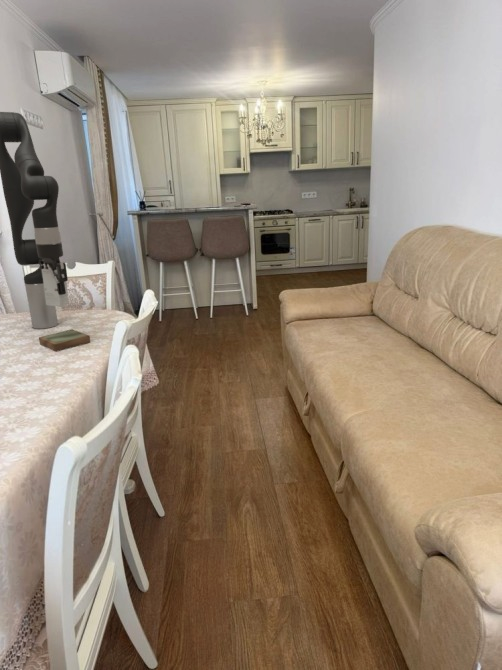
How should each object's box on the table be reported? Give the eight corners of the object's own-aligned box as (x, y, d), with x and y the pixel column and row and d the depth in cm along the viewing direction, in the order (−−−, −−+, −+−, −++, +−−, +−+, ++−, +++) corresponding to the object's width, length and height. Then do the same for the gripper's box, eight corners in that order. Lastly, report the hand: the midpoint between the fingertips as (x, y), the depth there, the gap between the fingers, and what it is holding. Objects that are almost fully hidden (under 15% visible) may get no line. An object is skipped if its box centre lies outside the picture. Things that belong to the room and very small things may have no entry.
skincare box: (45, 305, 147) (39, 269, 144) (55, 302, 151) (49, 266, 148) (61, 306, 145) (55, 269, 142) (70, 303, 150) (65, 267, 146)
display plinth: (39, 344, 152) (38, 337, 151) (73, 335, 161) (72, 329, 160) (56, 351, 144) (55, 344, 144) (90, 342, 153) (89, 335, 152)
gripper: (27, 242, 144) (35, 292, 149) (47, 244, 135) (55, 297, 140) (50, 239, 149) (57, 288, 154) (70, 242, 140) (78, 293, 145)
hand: (56, 292), depth 147 cm, fingers closed on skincare box, 7 cm apart
